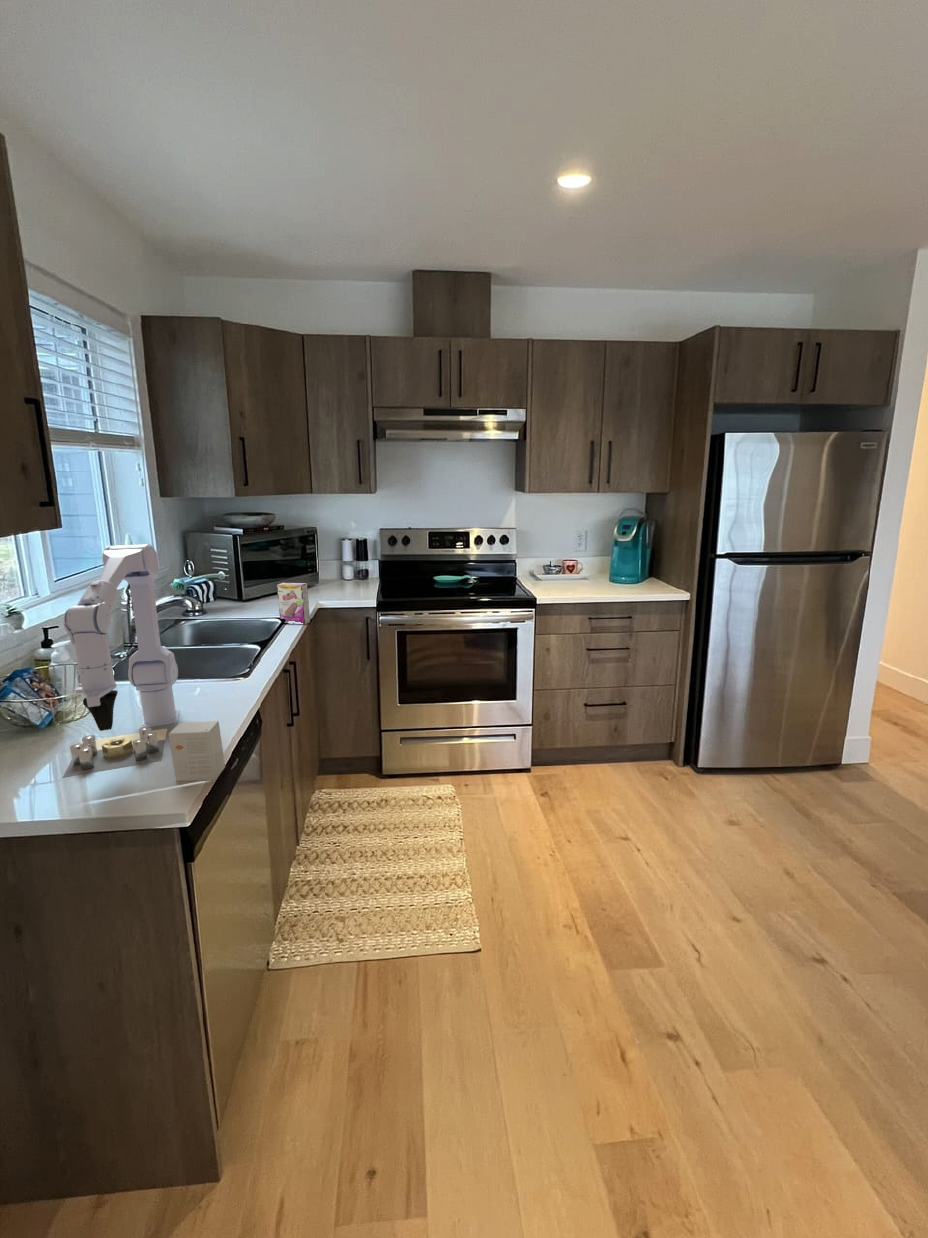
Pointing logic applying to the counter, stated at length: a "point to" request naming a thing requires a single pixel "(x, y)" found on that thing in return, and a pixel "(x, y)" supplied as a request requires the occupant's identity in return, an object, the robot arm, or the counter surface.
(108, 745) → the brass nut
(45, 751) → the counter surface
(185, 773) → the small box
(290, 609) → the candy bar box
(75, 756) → the standing spacers
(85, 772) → the spacer mat
